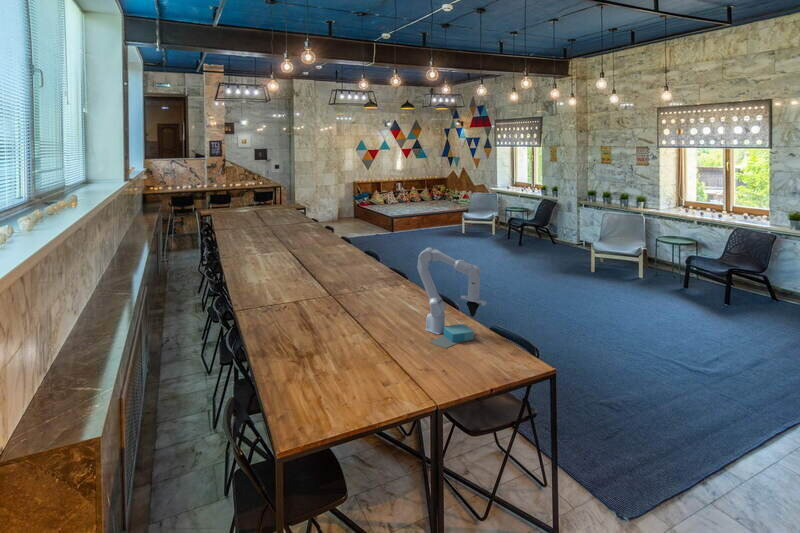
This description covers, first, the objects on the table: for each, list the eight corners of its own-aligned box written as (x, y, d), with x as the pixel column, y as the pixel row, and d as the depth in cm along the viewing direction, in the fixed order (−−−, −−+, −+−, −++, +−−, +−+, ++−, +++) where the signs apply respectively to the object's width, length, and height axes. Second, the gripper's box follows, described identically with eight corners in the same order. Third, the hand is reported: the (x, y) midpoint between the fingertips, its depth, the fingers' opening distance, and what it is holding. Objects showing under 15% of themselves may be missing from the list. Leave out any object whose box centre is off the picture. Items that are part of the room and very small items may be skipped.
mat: (428, 342, 246) (428, 341, 246) (458, 330, 263) (458, 329, 263) (445, 348, 239) (445, 347, 239) (475, 335, 255) (475, 335, 255)
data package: (474, 339, 249) (463, 331, 260) (475, 331, 248) (463, 323, 259) (453, 343, 245) (442, 334, 256) (453, 334, 244) (442, 326, 255)
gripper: (490, 291, 248) (489, 317, 251) (467, 285, 258) (466, 310, 261) (481, 294, 243) (480, 320, 246) (458, 288, 253) (457, 313, 257)
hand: (472, 315), depth 254 cm, fingers closed
